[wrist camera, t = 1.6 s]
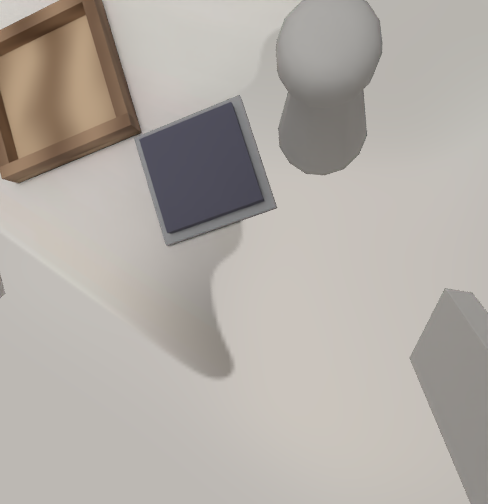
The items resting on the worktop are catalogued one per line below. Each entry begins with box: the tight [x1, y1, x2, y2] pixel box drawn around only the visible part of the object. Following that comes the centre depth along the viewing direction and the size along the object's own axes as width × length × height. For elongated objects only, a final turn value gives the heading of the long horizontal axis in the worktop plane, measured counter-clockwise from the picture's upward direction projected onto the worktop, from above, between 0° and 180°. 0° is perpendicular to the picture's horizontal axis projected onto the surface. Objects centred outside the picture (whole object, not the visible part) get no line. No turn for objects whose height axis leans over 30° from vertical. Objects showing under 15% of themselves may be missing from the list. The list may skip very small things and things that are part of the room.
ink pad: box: [134, 95, 277, 246], centre depth 27 cm, size 9×9×2 cm
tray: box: [0, 0, 141, 183], centre depth 30 cm, size 12×12×2 cm
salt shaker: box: [276, 0, 382, 175], centre depth 20 cm, size 6×6×13 cm
